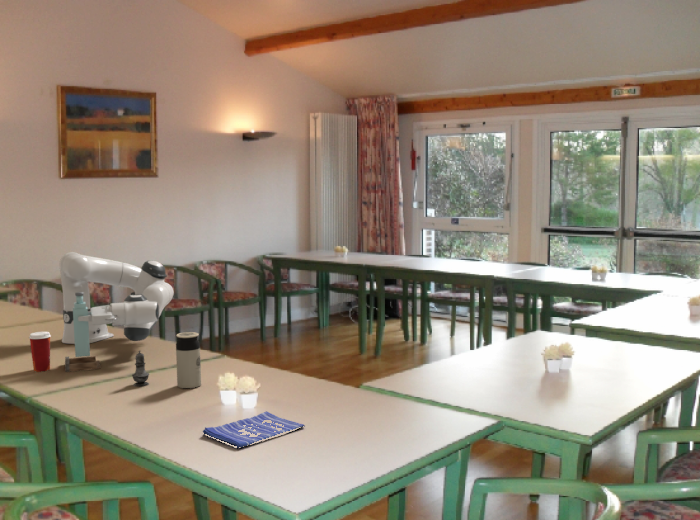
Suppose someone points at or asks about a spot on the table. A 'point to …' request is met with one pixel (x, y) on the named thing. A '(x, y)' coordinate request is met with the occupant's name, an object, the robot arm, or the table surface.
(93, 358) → the brown square frame
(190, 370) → the travel mug
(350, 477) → the table surface
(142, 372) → the salt shaker
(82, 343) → the bottle
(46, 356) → the paper cup
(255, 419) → the dish towel
